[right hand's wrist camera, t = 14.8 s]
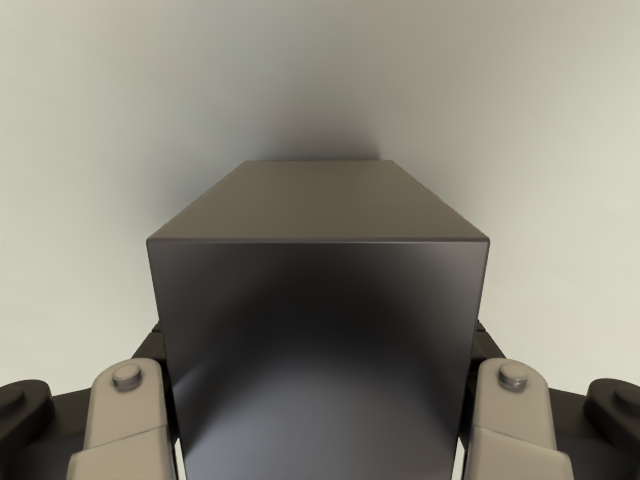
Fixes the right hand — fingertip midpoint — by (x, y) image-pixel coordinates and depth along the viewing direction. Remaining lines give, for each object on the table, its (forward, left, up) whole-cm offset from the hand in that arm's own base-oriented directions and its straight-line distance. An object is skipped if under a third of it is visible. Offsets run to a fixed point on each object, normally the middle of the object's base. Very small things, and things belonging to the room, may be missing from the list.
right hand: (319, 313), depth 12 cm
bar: (+8, +3, -5) cm, 10 cm away
